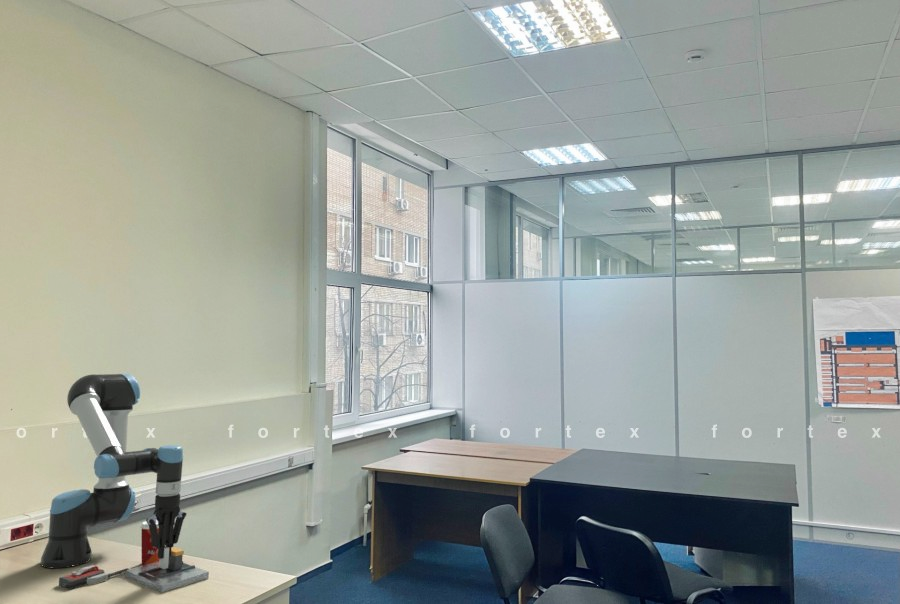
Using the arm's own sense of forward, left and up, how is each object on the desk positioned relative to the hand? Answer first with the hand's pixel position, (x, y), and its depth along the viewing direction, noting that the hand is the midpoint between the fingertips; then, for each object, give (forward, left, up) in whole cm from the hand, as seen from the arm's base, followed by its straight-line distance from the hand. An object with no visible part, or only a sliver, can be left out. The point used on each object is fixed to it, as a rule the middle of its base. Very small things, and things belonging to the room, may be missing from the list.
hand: (163, 567), depth 202 cm
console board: (0, +1, -3) cm, 4 cm away
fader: (0, +4, -1) cm, 4 cm away
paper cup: (-17, +5, -4) cm, 18 cm away
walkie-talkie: (-16, -14, -4) cm, 22 cm away
